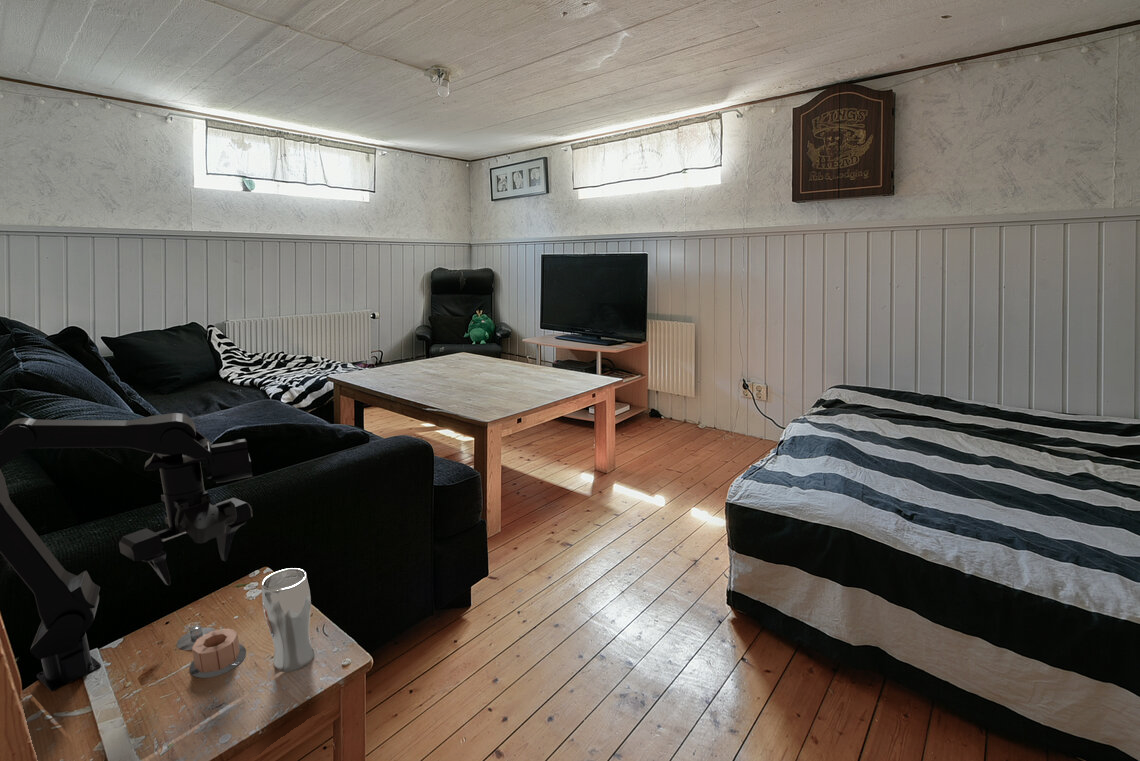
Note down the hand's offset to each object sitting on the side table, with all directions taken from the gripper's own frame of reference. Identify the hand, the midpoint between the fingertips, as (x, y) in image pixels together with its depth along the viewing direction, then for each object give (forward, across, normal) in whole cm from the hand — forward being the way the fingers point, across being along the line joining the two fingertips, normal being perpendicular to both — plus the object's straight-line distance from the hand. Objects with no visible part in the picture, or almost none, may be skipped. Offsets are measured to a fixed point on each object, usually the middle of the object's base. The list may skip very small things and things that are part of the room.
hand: (197, 571), depth 100 cm
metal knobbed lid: (+12, -2, -1) cm, 12 cm away
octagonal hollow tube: (+11, -3, -10) cm, 15 cm away
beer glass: (+12, +4, -20) cm, 24 cm away
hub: (+12, -3, -10) cm, 16 cm away
